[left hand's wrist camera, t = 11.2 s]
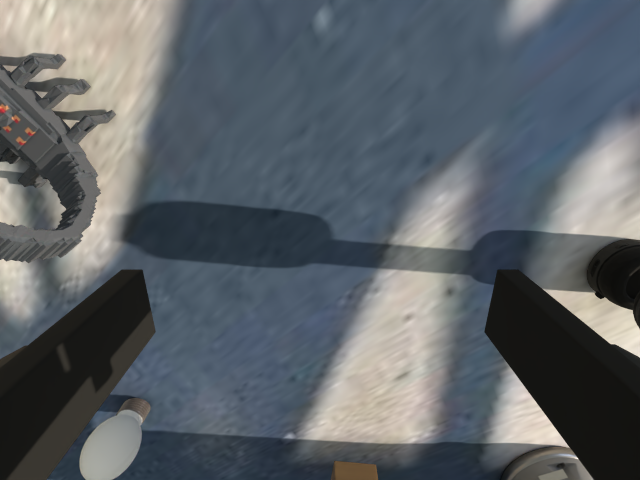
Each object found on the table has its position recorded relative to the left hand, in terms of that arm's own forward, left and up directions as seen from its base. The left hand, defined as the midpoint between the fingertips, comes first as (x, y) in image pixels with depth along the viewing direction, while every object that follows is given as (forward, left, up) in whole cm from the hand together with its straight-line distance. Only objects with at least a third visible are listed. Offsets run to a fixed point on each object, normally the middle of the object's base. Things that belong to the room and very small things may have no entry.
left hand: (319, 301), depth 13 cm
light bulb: (+46, +6, -29) cm, 54 cm away
